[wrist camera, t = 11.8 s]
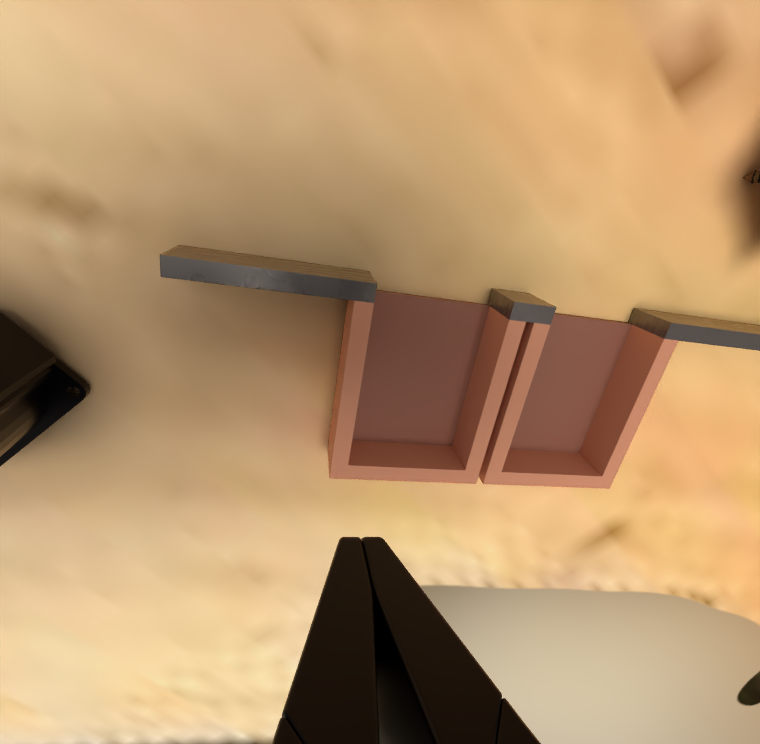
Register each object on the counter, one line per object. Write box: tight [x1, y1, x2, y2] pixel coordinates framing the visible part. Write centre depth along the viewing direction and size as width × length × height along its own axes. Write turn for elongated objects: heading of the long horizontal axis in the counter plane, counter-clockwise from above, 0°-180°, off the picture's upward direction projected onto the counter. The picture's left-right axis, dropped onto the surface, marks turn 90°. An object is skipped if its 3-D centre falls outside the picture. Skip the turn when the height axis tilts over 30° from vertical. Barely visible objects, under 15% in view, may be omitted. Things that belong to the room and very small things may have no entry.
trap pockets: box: [328, 290, 678, 489], centre depth 21 cm, size 16×9×2 cm, turn 81°
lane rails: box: [160, 245, 760, 351], centre depth 17 cm, size 38×17×2 cm, turn 81°
